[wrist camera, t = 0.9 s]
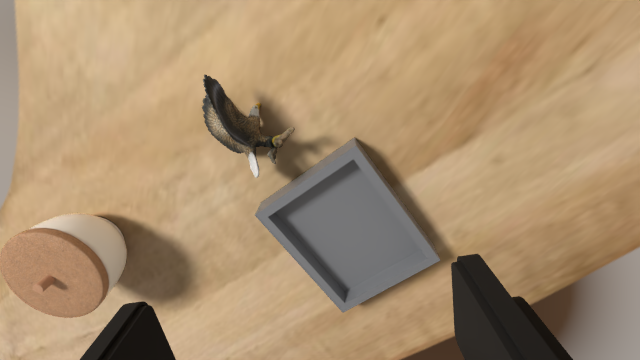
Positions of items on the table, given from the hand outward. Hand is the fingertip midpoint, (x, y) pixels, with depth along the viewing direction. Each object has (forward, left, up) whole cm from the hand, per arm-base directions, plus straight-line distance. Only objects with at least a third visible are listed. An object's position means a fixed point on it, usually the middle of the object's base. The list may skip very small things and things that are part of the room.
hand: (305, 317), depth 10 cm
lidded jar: (+31, -5, -27) cm, 41 cm away
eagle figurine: (+7, -5, -27) cm, 28 cm away
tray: (+5, +11, -27) cm, 29 cm away
